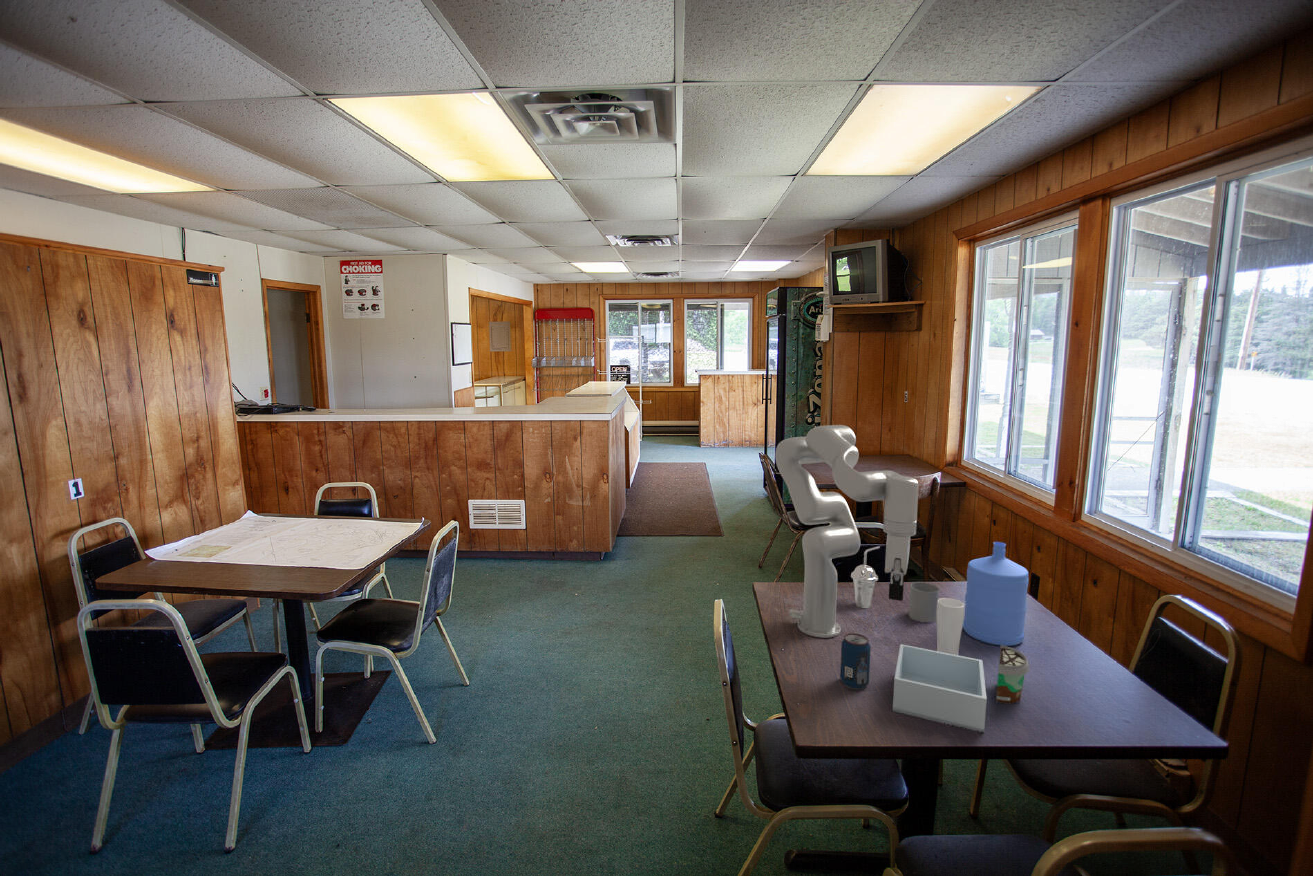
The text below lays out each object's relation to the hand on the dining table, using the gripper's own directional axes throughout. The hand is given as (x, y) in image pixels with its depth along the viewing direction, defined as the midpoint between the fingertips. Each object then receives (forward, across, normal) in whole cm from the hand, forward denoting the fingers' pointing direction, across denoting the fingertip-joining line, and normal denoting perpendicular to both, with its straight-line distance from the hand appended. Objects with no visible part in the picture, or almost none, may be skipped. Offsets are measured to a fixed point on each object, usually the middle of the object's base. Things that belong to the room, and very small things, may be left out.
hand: (896, 592), depth 148 cm
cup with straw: (+23, -45, -10) cm, 51 cm away
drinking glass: (+23, -20, +14) cm, 33 cm away
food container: (+23, -3, +27) cm, 36 cm away
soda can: (+23, +6, -8) cm, 26 cm away
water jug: (+23, -38, +27) cm, 52 cm away
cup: (+23, -43, +8) cm, 49 cm away
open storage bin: (+23, +6, +10) cm, 26 cm away
